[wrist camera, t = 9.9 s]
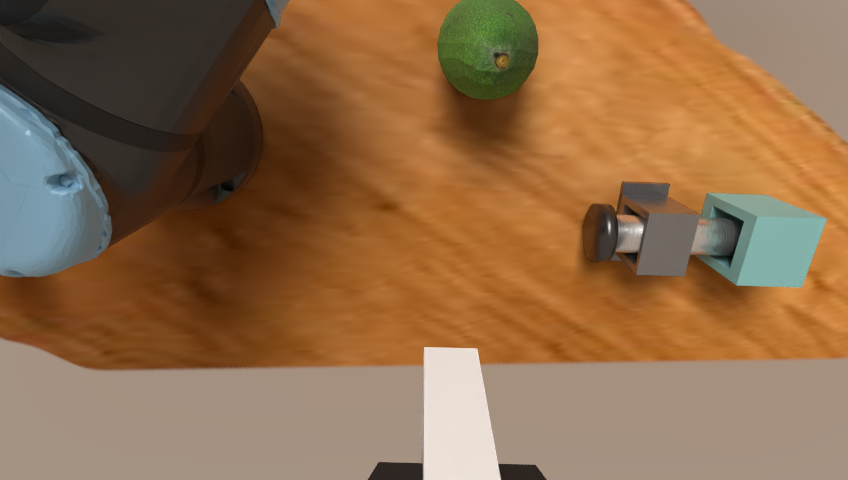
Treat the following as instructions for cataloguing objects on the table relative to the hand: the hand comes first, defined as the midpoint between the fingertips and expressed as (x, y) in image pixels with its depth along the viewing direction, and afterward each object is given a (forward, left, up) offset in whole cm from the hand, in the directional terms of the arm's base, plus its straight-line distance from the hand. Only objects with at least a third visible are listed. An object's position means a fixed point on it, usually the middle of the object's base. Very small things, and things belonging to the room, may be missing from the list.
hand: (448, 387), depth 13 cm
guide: (+22, -6, -34) cm, 41 cm away
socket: (+31, -6, -34) cm, 47 cm away
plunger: (+24, -6, -33) cm, 42 cm away
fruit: (+4, +10, -35) cm, 36 cm away
